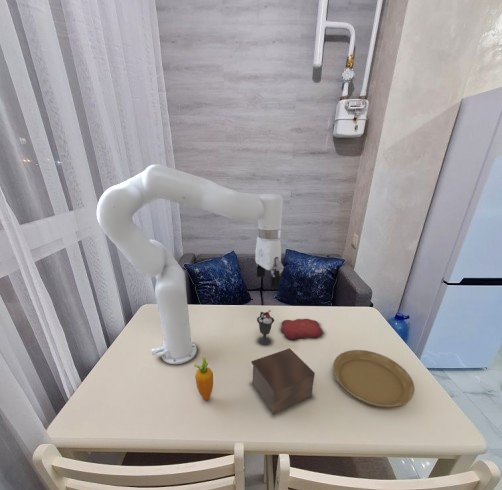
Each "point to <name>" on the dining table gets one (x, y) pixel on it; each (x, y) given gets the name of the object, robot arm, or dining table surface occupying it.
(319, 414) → the dining table surface
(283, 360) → the brown box lid
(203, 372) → the carrot
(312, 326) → the patty
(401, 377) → the plant saucer
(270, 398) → the container
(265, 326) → the sundae
